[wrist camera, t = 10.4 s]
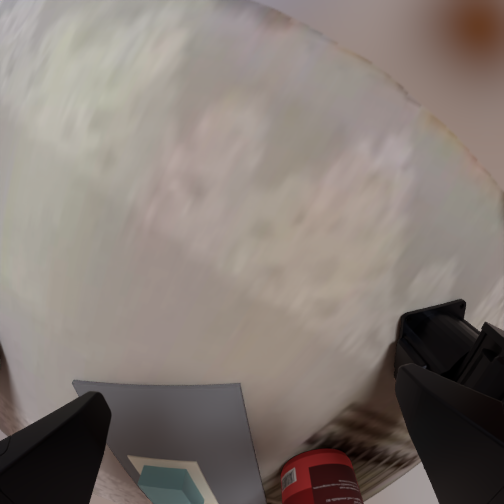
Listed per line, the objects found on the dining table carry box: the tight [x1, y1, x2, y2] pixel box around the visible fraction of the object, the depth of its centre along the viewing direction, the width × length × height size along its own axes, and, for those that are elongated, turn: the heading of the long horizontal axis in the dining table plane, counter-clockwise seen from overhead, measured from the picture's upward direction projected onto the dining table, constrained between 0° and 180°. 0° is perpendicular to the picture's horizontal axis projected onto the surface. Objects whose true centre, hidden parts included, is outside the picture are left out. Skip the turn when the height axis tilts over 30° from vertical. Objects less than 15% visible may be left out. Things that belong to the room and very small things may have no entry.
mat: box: [72, 380, 266, 504], centre depth 24 cm, size 16×22×1 cm
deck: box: [137, 465, 204, 504], centre depth 23 cm, size 8×5×3 cm, turn 7°
